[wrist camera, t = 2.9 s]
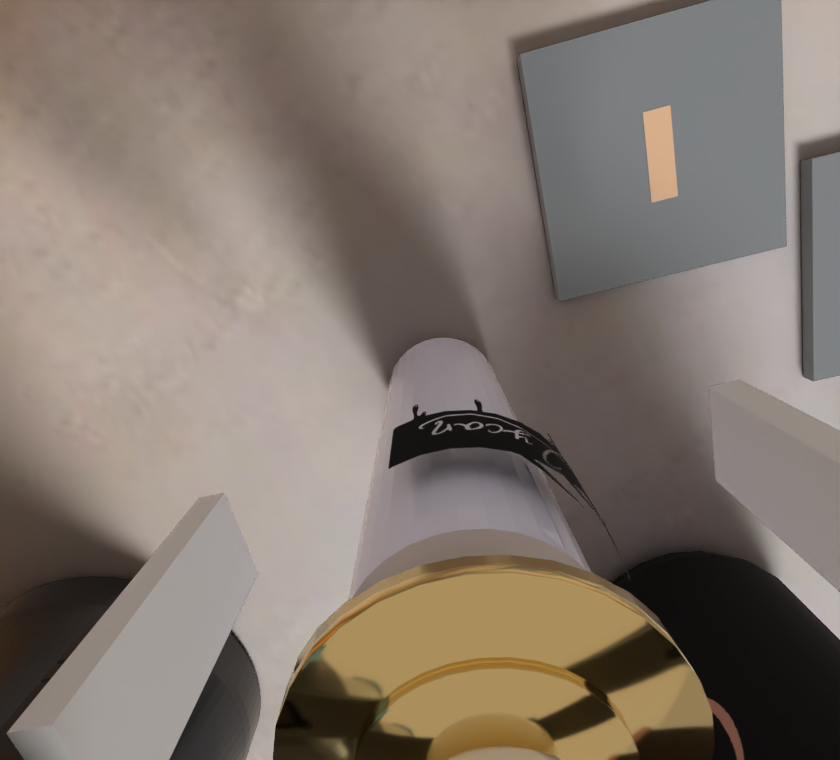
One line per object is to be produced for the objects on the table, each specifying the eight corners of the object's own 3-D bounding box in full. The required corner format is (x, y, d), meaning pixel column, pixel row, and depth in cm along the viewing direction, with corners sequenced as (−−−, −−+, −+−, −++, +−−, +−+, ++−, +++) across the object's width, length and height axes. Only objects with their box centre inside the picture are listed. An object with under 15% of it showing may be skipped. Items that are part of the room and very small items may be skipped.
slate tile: (556, 298, 21) (560, 301, 20) (516, 59, 18) (520, 53, 18) (776, 245, 20) (786, 246, 20) (769, -12, 17) (781, -20, 17)
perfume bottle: (485, 455, 23) (801, 1594, 4) (364, 427, 23) (56, 1549, 3) (524, 338, 21) (1415, 1335, 2) (393, 304, 21) (110, 1188, 2)
